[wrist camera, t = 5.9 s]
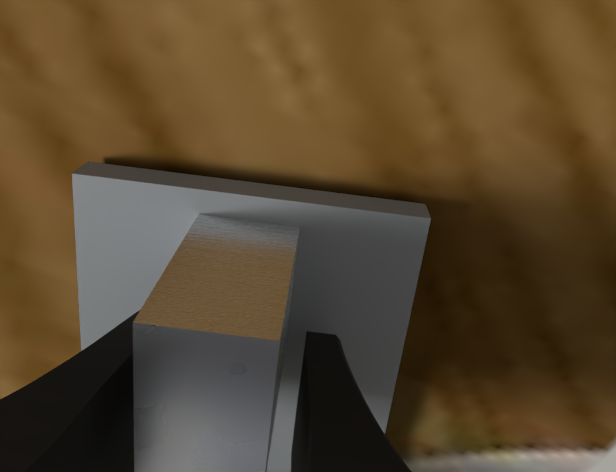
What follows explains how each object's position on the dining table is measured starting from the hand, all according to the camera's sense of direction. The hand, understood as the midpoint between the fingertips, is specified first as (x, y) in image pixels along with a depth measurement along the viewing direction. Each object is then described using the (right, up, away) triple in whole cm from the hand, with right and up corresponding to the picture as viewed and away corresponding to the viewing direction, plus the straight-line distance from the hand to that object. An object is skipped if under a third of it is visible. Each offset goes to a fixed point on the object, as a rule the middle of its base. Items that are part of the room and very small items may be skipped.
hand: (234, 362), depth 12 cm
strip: (0, -3, +3) cm, 4 cm away
